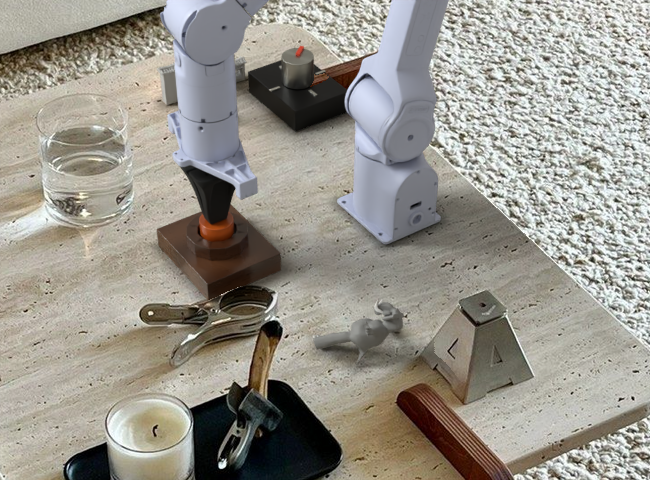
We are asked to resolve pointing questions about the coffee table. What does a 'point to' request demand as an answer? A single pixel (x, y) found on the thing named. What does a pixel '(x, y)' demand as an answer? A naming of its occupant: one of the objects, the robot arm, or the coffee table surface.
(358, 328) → the grey bird figurine
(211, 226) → the button
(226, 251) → the button block
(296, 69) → the dial
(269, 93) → the dial panel
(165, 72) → the lattice window wall
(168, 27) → the robot arm
